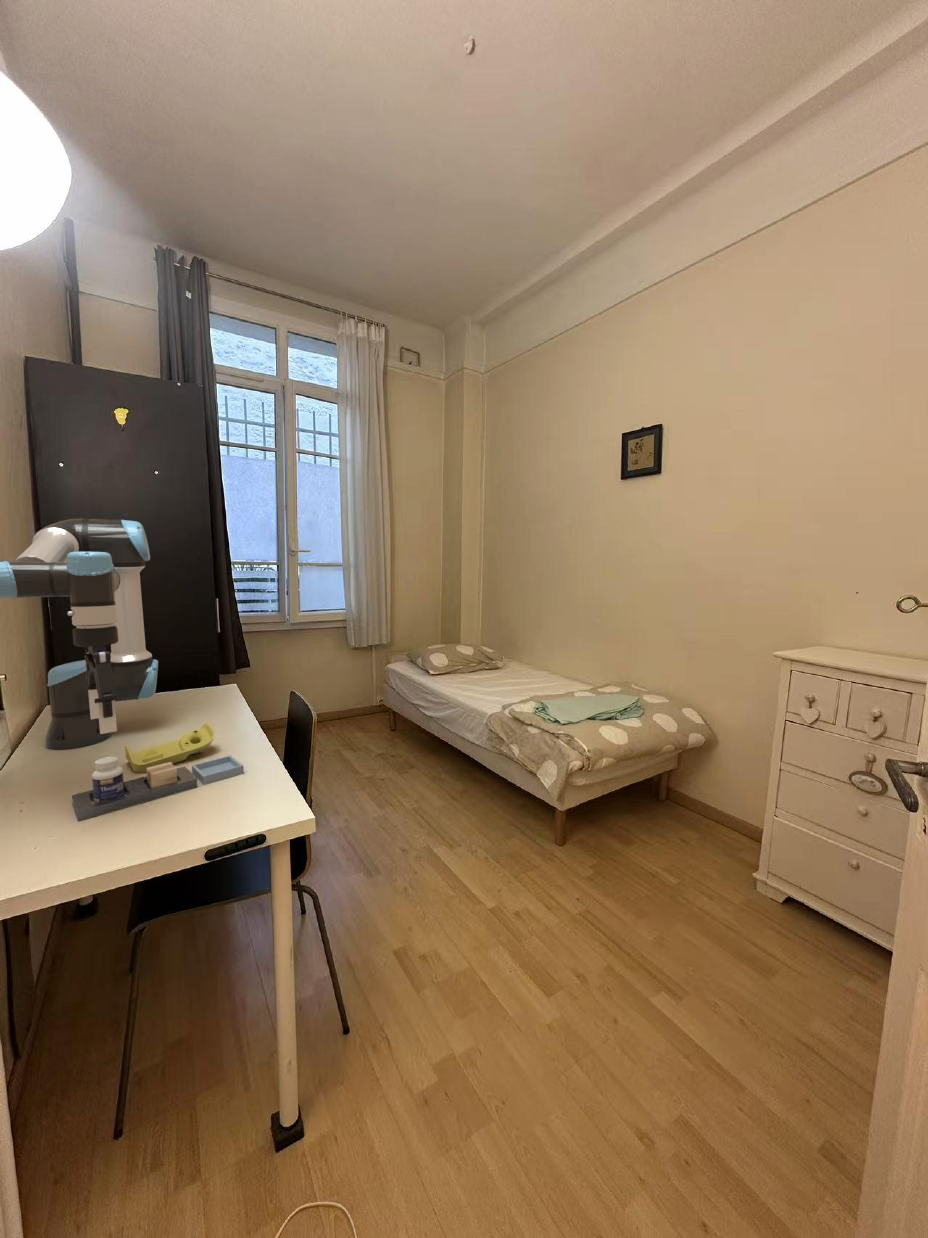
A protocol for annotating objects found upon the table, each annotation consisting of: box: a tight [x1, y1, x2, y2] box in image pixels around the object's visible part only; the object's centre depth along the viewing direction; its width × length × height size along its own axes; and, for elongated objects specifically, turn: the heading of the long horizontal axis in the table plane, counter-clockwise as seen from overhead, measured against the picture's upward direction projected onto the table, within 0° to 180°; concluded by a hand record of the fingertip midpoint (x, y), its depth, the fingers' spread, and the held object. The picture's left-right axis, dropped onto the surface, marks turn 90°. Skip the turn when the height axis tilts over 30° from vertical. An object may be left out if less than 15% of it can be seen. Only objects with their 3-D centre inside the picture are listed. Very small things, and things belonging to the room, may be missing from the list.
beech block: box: [145, 762, 177, 789], centre depth 112 cm, size 5×5×5 cm
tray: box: [191, 754, 245, 786], centre depth 121 cm, size 9×9×2 cm
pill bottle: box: [91, 756, 125, 804], centre depth 105 cm, size 5×5×10 cm
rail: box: [71, 766, 198, 822], centre depth 109 cm, size 10×22×2 cm, turn 134°
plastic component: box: [124, 722, 215, 774], centre depth 130 cm, size 20×7×10 cm
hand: (103, 724), depth 104 cm, fingers open, 13 cm apart
